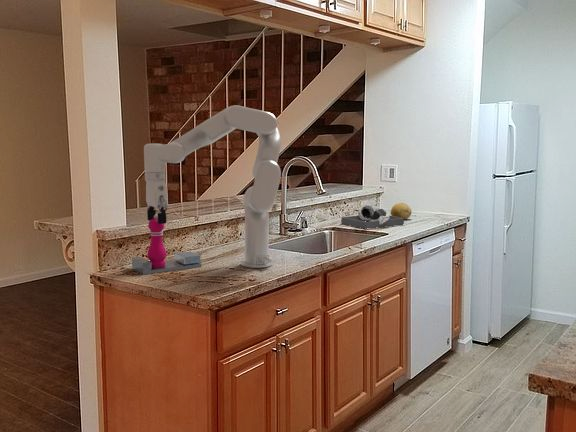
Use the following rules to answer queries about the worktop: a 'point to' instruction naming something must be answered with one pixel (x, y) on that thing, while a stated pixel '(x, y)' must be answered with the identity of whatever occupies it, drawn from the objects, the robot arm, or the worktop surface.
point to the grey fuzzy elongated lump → (373, 214)
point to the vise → (145, 268)
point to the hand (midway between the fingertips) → (156, 221)
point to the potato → (401, 210)
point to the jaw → (187, 257)
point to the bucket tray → (371, 222)
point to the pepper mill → (156, 244)
